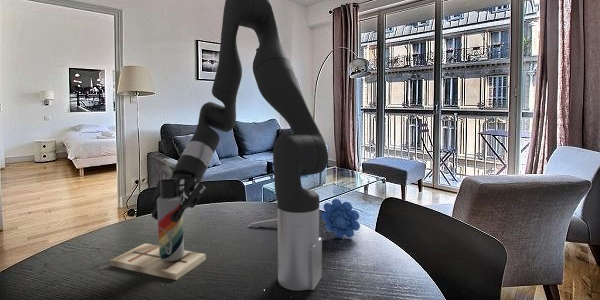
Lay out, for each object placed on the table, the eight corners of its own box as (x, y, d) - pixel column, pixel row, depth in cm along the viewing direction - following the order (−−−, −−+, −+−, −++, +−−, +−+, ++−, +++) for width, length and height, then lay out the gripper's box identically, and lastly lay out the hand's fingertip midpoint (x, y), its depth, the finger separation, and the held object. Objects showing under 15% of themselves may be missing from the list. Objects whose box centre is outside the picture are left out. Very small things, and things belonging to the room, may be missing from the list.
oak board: (205, 259, 87) (205, 253, 87) (176, 280, 77) (176, 273, 77) (145, 248, 94) (144, 242, 94) (110, 265, 84) (110, 259, 84)
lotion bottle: (158, 263, 81) (154, 181, 78) (161, 252, 86) (157, 175, 83) (183, 260, 82) (180, 179, 79) (184, 250, 88) (182, 174, 85)
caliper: (309, 227, 111) (309, 208, 110) (309, 228, 110) (310, 209, 109) (247, 227, 111) (247, 208, 111) (247, 228, 110) (246, 209, 110)
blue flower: (319, 242, 98) (320, 202, 97) (321, 233, 105) (321, 196, 103) (360, 244, 97) (361, 203, 95) (359, 235, 103) (360, 197, 102)
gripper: (165, 152, 90) (131, 209, 81) (210, 155, 85) (180, 216, 76) (179, 168, 96) (149, 223, 86) (222, 171, 91) (196, 230, 81)
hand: (164, 219), depth 81 cm, fingers closed on lotion bottle, 5 cm apart
